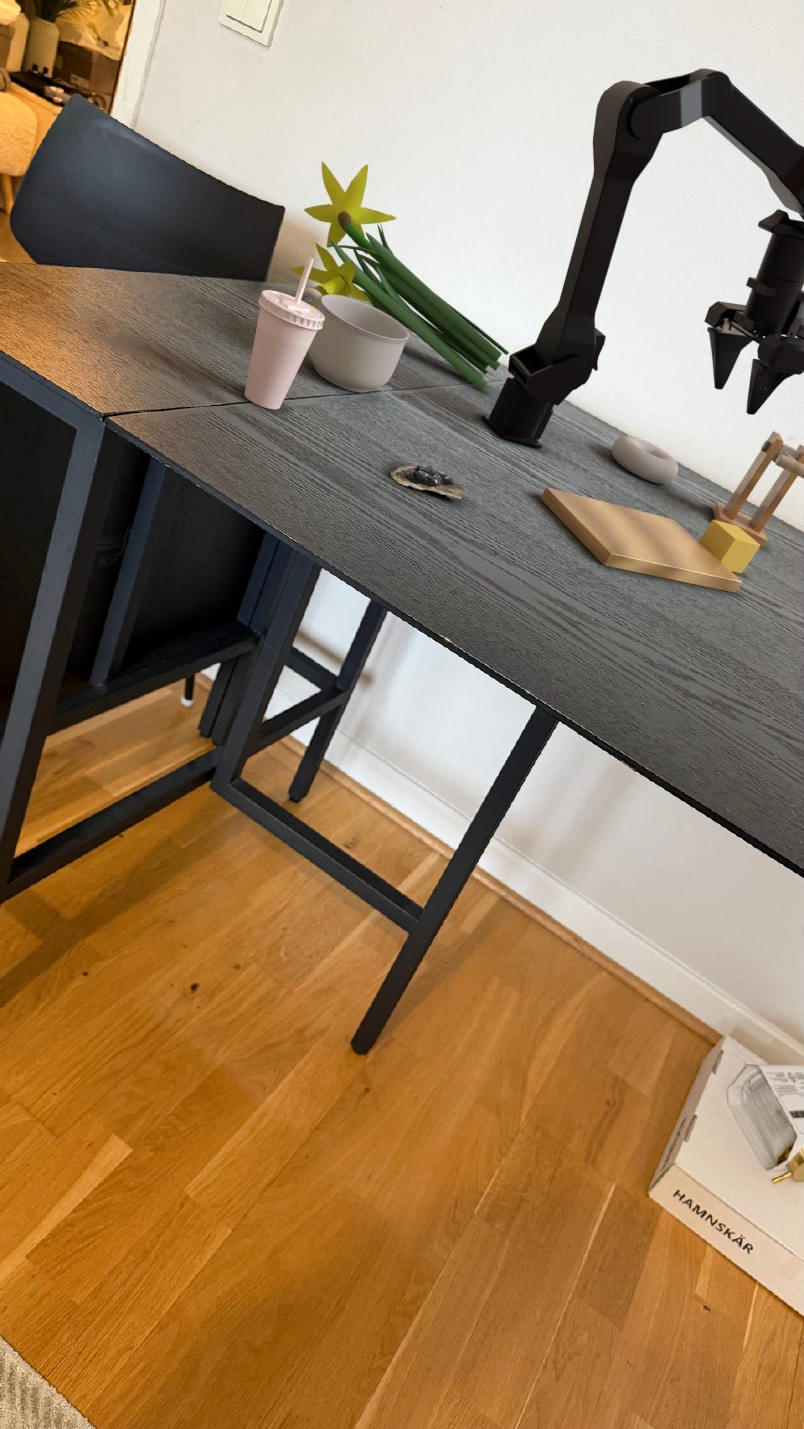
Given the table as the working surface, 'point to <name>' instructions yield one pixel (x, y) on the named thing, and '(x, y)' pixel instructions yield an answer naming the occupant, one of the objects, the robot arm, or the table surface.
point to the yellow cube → (729, 545)
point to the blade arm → (788, 460)
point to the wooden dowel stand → (758, 467)
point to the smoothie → (280, 343)
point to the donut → (644, 460)
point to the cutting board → (639, 541)
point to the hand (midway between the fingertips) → (733, 401)
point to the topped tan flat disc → (428, 480)
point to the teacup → (355, 342)
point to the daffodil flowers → (393, 282)
